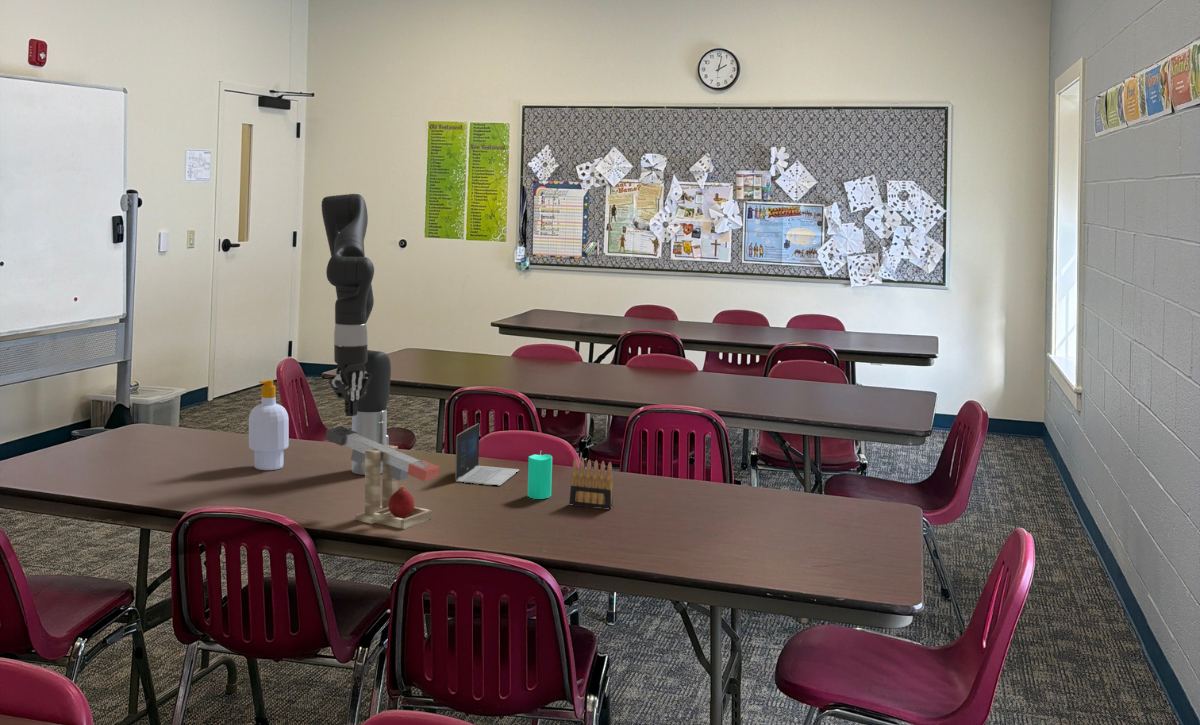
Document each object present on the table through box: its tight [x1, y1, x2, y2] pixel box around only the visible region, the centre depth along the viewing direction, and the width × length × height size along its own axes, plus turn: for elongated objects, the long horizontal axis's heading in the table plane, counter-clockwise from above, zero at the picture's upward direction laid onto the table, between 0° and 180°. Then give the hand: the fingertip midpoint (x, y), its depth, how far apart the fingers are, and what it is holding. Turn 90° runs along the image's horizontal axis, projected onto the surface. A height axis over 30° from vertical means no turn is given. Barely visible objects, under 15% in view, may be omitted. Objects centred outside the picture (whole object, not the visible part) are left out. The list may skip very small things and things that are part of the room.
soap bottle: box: [248, 379, 290, 471], centre depth 273 cm, size 10×10×24 cm
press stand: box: [354, 444, 433, 530], centre depth 231 cm, size 14×12×16 cm
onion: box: [389, 485, 415, 519], centre depth 231 cm, size 6×6×8 cm
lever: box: [325, 425, 441, 482], centre depth 232 cm, size 30×5×5 cm, turn 62°
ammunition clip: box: [568, 457, 614, 510], centre depth 248 cm, size 11×2×12 cm, turn 75°
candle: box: [527, 450, 553, 500], centre depth 255 cm, size 6×6×12 cm
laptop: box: [454, 422, 520, 487], centre depth 273 cm, size 18×12×13 cm
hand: (351, 415), depth 236 cm, fingers closed
